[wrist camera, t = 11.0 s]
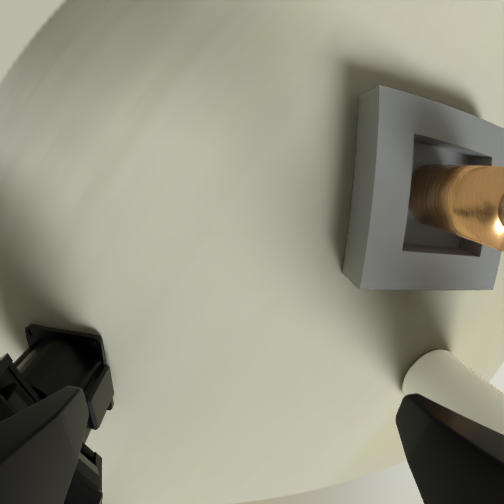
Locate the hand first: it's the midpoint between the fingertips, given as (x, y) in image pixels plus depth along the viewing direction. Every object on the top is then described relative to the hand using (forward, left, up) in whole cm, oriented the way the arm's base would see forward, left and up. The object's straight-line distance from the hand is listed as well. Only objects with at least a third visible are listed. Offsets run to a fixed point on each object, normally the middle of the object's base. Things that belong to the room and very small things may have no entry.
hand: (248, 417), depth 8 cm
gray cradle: (+12, +6, -12) cm, 18 cm away
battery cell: (+12, +6, -12) cm, 18 cm away
